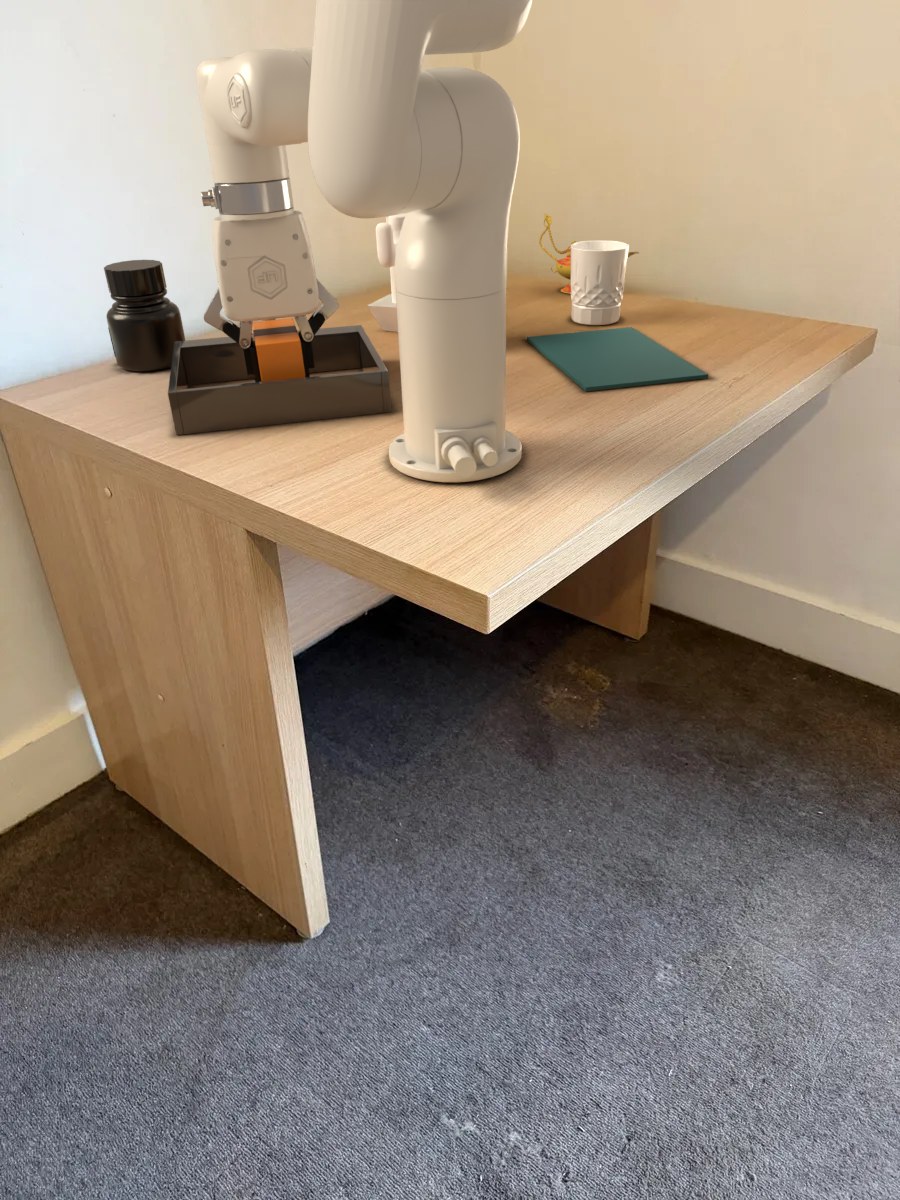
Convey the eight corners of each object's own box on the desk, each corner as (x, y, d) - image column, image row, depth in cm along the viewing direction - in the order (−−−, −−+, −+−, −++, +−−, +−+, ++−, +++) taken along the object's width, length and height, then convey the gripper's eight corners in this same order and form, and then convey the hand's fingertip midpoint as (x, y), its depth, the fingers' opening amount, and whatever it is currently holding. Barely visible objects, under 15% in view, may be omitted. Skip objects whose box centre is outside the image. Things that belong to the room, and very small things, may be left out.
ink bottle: (170, 348, 117) (151, 254, 111) (204, 360, 112) (187, 262, 106) (102, 364, 112) (78, 267, 105) (135, 378, 106) (112, 276, 100)
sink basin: (391, 412, 94) (381, 270, 86) (176, 435, 89) (145, 289, 82) (364, 360, 110) (354, 237, 102) (181, 378, 106) (156, 251, 98)
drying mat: (708, 378, 100) (708, 374, 100) (585, 391, 97) (585, 387, 97) (631, 330, 118) (631, 326, 118) (526, 340, 116) (526, 336, 115)
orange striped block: (307, 391, 93) (300, 340, 90) (264, 396, 92) (255, 345, 89) (299, 364, 102) (292, 317, 99) (259, 369, 101) (251, 321, 99)
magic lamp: (625, 303, 131) (631, 225, 126) (526, 289, 141) (528, 216, 135) (646, 294, 136) (653, 218, 130) (549, 281, 146) (551, 210, 140)
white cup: (631, 316, 125) (637, 242, 119) (609, 329, 119) (614, 252, 114) (581, 310, 128) (585, 238, 123) (558, 322, 123) (560, 248, 117)
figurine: (440, 321, 125) (436, 209, 117) (411, 338, 118) (405, 219, 110) (395, 317, 128) (388, 207, 120) (365, 334, 121) (355, 217, 113)
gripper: (167, 211, 83) (204, 396, 92) (342, 197, 86) (361, 378, 95) (170, 203, 89) (205, 377, 99) (334, 190, 92) (352, 361, 102)
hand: (282, 376), depth 97 cm, fingers closed on orange striped block, 4 cm apart
